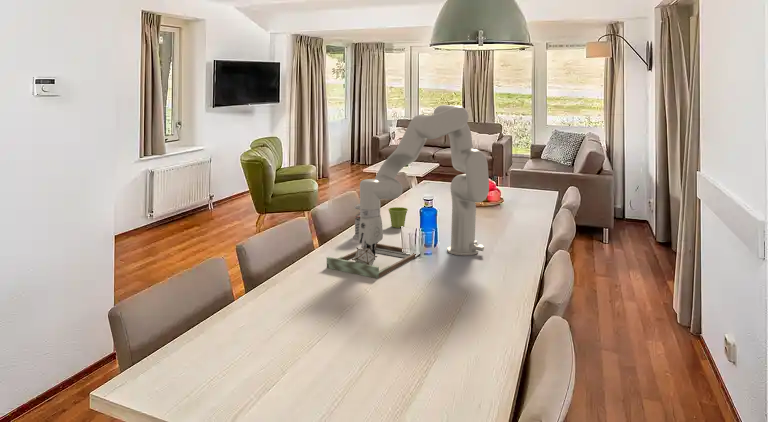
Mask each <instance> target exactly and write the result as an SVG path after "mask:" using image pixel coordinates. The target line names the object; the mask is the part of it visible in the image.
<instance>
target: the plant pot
mask: <svg viewBox="0 0 768 422" xmlns="http://www.w3.org/2000/svg"><path fill="white" fill-rule="evenodd" d="M387 210H388V212H389V217H390V223H391V224H390V226H391V228H396V229H401V228H400V227H401V226H404V227H405V223H406V216H407V212H408V211H409V209H408V208H407V207H399V206H396V207H394V206H393V207H390V208H388V209H387Z"/></svg>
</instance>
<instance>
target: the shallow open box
mask: <svg viewBox="0 0 768 422" xmlns="http://www.w3.org/2000/svg"><path fill="white" fill-rule="evenodd" d="M403 248H404V247H401V246H400V247H399V246H395V245H394V246H393V245H388V244H384V243H379V242H378V243H377V244H376V250H375V254H377V255H378V254H379V255H382V256H383V255H384V256H390V257H395V258H400V260H399V261H397V262H395V263H393V264H390V265H387V266H386V267H384V268H382V269H380V267H379V266H378V265H377V266H376V265H373V264H372V265H367V264H362V263H357V262H355V261H353V260H352V259H354V257H355V255H356V252H357V250H355V251H353V252H351V253H349V254H348V253H347V254H346V255H344V256H340V257H337V258H336V257H330V256H327V257H326V268H327V269H330V270H336V271H341V272H345V273H349V274H354V275H359V276H364V277H368V278H372V277H373V279H379V278H381V277H383V276H384V275H386V274H388V273H390V272H391V271H393V270H395V269H397V268H399V267H401V266H403V265H405V264H406V263H409V262H410V261H412V260H414V259H416V258H415V255H416V254H414V253H413V254H412V255H410V254H406V253H403V252H402V249H403ZM361 249H363V248H361ZM351 260H352V261H351Z"/></svg>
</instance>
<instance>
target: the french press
mask: <svg viewBox="0 0 768 422" xmlns="http://www.w3.org/2000/svg"><path fill="white" fill-rule="evenodd" d="M354 209H355V210H359V211H360V203H358V204H356V205H355V206H354ZM360 218H361V217H360V213H359V214H356V215H355V218H354V233H355V234H354V235H352V238H353V239H355V240H359V224H360Z"/></svg>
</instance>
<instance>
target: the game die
mask: <svg viewBox="0 0 768 422" xmlns="http://www.w3.org/2000/svg"><path fill="white" fill-rule="evenodd" d="M356 251H357V252H356V255H355V257H353V258H351V260H352V261H353V262H357V263H362V264H367V265H372V266H373V264H374V262H375V260H376V258H377V257H379V256H378V255H376V254H375V255H374V254H373V252H372V251H371V250H370V246H369V248H363V249H362V248H359V247H356ZM374 259H375V260H374Z"/></svg>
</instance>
